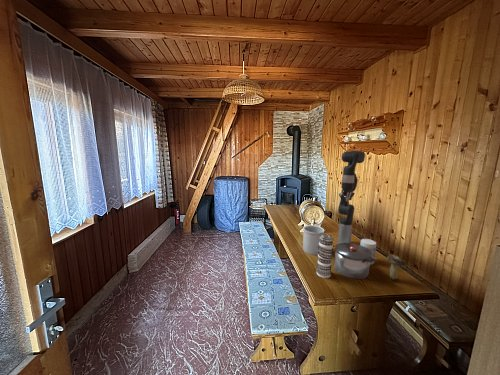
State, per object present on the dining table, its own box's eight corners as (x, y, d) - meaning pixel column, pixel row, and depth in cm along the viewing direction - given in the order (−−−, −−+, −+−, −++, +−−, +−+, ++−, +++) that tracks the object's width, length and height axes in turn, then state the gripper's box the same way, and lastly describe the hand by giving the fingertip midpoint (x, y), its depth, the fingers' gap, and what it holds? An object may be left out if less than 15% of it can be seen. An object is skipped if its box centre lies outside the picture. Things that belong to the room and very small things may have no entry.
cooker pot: (348, 258, 152) (350, 242, 150) (375, 274, 134) (378, 256, 132) (326, 264, 144) (328, 247, 142) (352, 282, 126) (354, 263, 123)
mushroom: (380, 275, 133) (383, 252, 130) (393, 275, 133) (397, 252, 130) (391, 285, 123) (395, 261, 120) (406, 284, 124) (410, 260, 121)
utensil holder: (323, 256, 155) (325, 233, 151) (302, 254, 158) (303, 231, 154) (321, 247, 169) (323, 226, 166) (301, 245, 172) (303, 224, 168)
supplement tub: (375, 266, 143) (378, 245, 140) (359, 263, 146) (362, 243, 143) (372, 259, 152) (374, 239, 149) (357, 257, 155) (359, 237, 152)
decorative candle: (319, 268, 140) (322, 231, 135) (333, 273, 134) (337, 235, 129) (313, 274, 133) (316, 236, 128) (328, 280, 127) (331, 240, 122)
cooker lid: (351, 242, 150) (351, 237, 149) (383, 257, 129) (384, 253, 128) (327, 247, 142) (328, 243, 141) (358, 265, 121) (359, 260, 120)
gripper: (350, 180, 152) (348, 204, 155) (336, 181, 147) (334, 205, 150) (359, 181, 145) (356, 206, 149) (345, 183, 140) (342, 208, 143)
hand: (345, 206), depth 149 cm, fingers closed
